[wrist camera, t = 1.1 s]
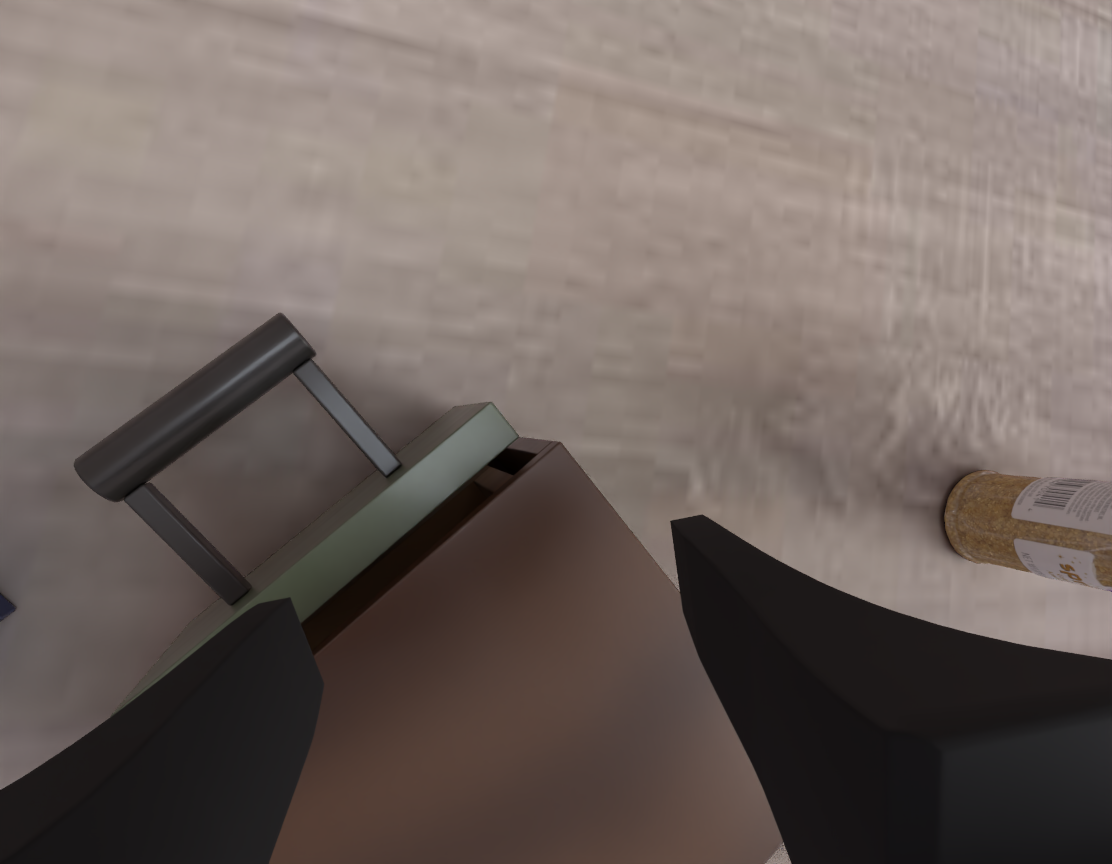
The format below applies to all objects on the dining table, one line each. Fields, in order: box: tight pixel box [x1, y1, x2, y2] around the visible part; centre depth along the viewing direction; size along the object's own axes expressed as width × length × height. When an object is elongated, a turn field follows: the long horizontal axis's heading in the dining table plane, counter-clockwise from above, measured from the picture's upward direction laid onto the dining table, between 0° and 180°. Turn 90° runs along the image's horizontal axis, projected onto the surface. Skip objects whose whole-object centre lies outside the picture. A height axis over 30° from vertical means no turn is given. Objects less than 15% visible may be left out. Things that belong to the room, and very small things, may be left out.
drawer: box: [74, 313, 519, 716], centre depth 19 cm, size 17×11×7 cm, turn 39°
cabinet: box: [269, 437, 783, 864], centre depth 20 cm, size 13×12×8 cm
